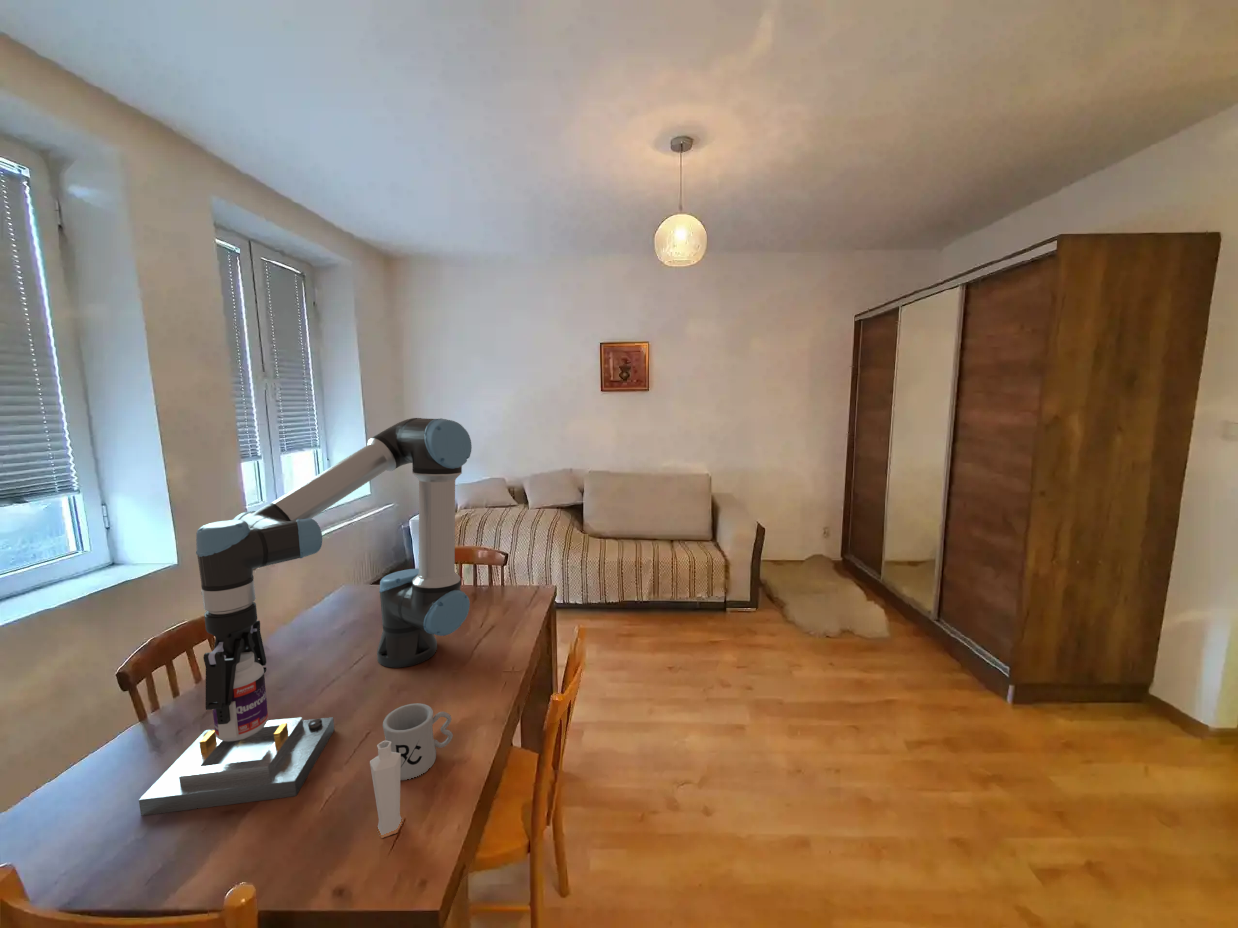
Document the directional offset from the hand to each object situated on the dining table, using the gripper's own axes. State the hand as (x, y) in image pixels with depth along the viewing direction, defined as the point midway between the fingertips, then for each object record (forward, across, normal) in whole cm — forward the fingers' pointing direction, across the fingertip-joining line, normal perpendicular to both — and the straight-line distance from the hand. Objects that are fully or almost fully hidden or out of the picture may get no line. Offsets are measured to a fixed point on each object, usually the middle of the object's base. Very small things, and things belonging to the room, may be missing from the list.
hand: (242, 721), depth 95 cm
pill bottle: (+2, 0, 0) cm, 2 cm away
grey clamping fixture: (+10, 0, 0) cm, 10 cm away
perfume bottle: (+10, +19, +30) cm, 37 cm away
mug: (+10, +4, +32) cm, 34 cm away
